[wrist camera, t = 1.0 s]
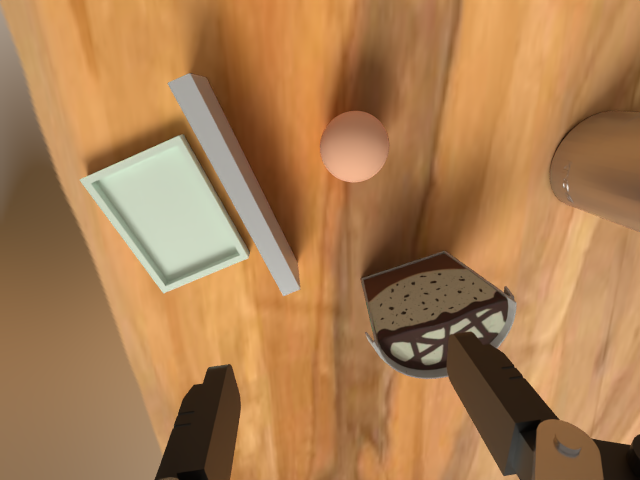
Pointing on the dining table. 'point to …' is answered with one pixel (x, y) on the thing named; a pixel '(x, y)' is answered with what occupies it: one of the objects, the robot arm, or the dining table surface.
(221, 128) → the low wall
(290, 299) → the dining table surface
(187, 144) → the sage tray
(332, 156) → the ball
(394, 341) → the food container
